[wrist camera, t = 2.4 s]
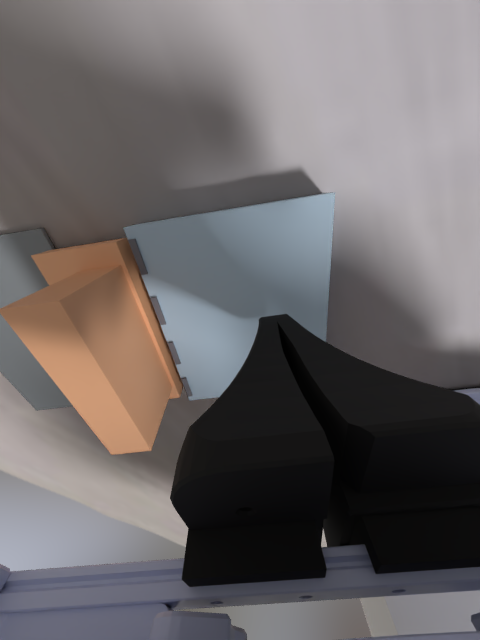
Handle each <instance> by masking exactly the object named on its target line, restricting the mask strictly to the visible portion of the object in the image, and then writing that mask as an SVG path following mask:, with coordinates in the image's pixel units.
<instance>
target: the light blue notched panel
mask: <svg viewBox="0 0 480 640" xmlns="http://www.w3.org/2000/svg"><path fill="white" fill-rule="evenodd" d="M334 203H335V193H322V194H315V195H309V196H303V197H297V198H291V199H285V200H279V201H273V202H267V203H261V204H255V205H249V206H243V207H237V208H231V209H225V210H219V211H213V212H207V213H201V214H195V215H189V216H183V217H177V218H171V219H165V220H159V221H153V222H147V223H141V224H135V225H131V226H127V227H123V229H124V231H125V234H126V236H127V239H128V242H129V244H130V247H131V249H132V252H133V255H134V257H135V260H136V263H137V265H138V268H139V270H140V273H141V276H142V278H143V281H144V283H145V286H146V289H147V291H148V294H149V296H150V299H151V302H152V304H153V307H154V309H155V312H156V315H157V317H158V320H159V323H160V325H161V328H162V330H163V333H164V336H165V338H166V341H167V343H168V346H169V349H170V351H171V354H172V356H173V359H174V362H175V364H176V367H177V369H178V372H179V375H180V377H181V380H182V383H183V385H184V388H185V390H186V393H187V396H188V398H189V401H190V400H199V399H207V398H216V397H220V396H221V394H222V393H223V392H224V391H225V390H226V389H227V387H228V386H229V385H230V384H231V382H232V381H233V379H234V378H235V376H236V375H237V373H238V372H239V370H240V369H241V367H242V366H243V364H244V362H245V360H246V358H247V356H248V354H249V352H250V350H251V348H252V345H253V343H254V340H255V337H256V334H257V330H258V326H259V319H260V318H261V317H266V316H274V315H281V314H288V315H289V316H290V317H291V318H293V319H294V320H295V321H296V322H298V323H299V324H300V325H302V326H303V327H304V328H305V329H307V330H308V331H310V332H311V333H312V334H314V335H315V336H317V337H318V338H320V339H322V340H323V341H325V342H326V332H327V316H328V299H329V283H330V267H331V251H332V235H333V219H334Z"/></svg>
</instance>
